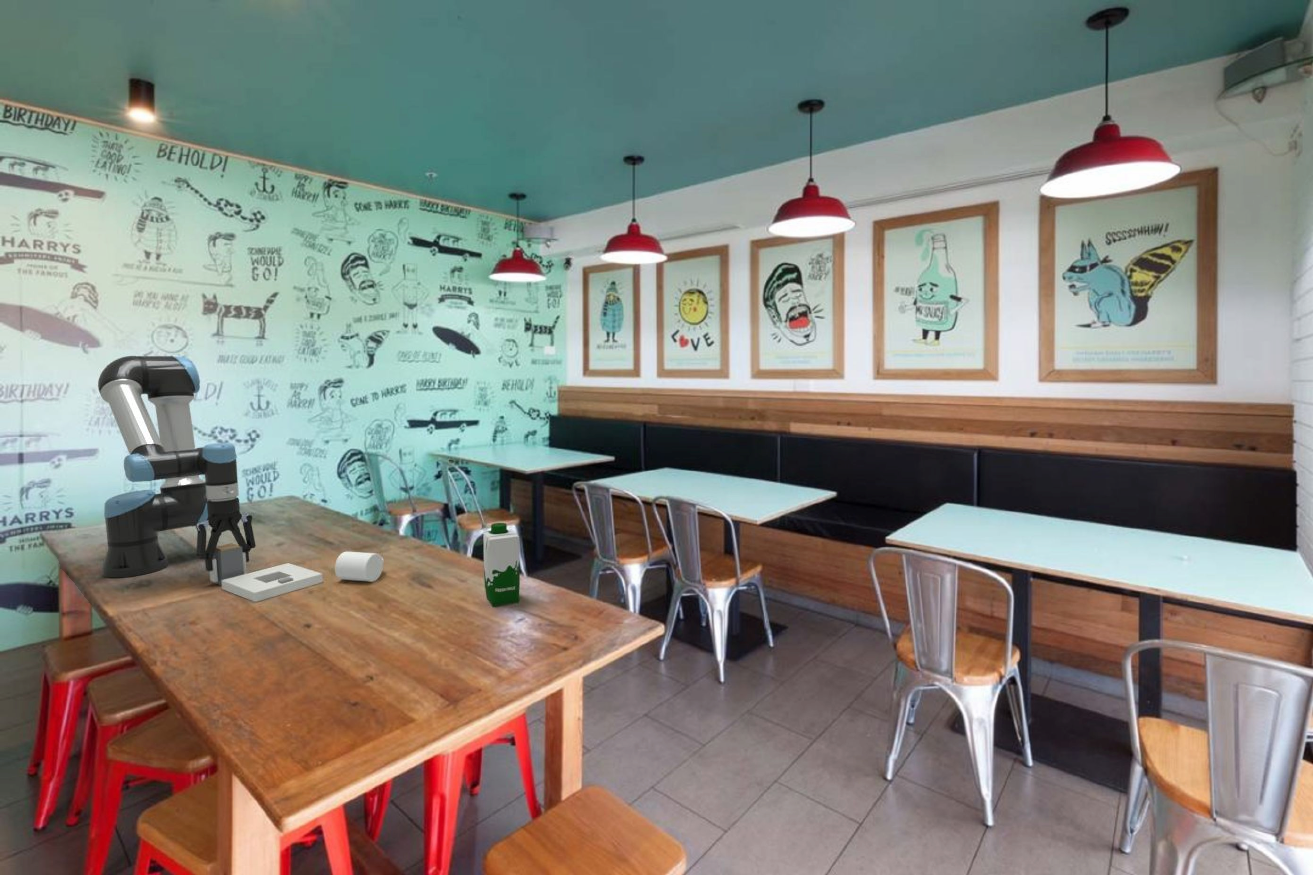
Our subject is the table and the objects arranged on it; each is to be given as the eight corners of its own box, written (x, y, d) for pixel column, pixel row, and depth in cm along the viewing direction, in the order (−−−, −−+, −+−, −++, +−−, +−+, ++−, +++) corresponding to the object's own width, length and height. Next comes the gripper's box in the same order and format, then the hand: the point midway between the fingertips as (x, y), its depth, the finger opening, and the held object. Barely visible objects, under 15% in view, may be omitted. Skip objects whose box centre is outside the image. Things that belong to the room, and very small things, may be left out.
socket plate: (222, 588, 173) (221, 578, 173) (288, 571, 188) (288, 561, 188) (255, 602, 164) (254, 590, 163) (322, 582, 179) (322, 571, 178)
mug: (366, 585, 176) (364, 558, 176) (335, 583, 178) (333, 555, 177) (392, 572, 188) (391, 546, 187) (362, 569, 190) (361, 544, 189)
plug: (213, 582, 178) (211, 547, 177) (235, 577, 183) (232, 542, 182) (223, 586, 175) (220, 550, 174) (244, 580, 180) (241, 545, 179)
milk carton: (514, 592, 172) (513, 520, 169) (523, 603, 164) (522, 528, 161) (482, 597, 168) (480, 524, 165) (489, 609, 160) (487, 532, 157)
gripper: (188, 506, 166) (195, 590, 169) (266, 494, 183) (272, 570, 185) (175, 503, 170) (182, 585, 173) (253, 491, 187) (258, 565, 189)
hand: (228, 577), depth 179 cm, fingers open, 7 cm apart
